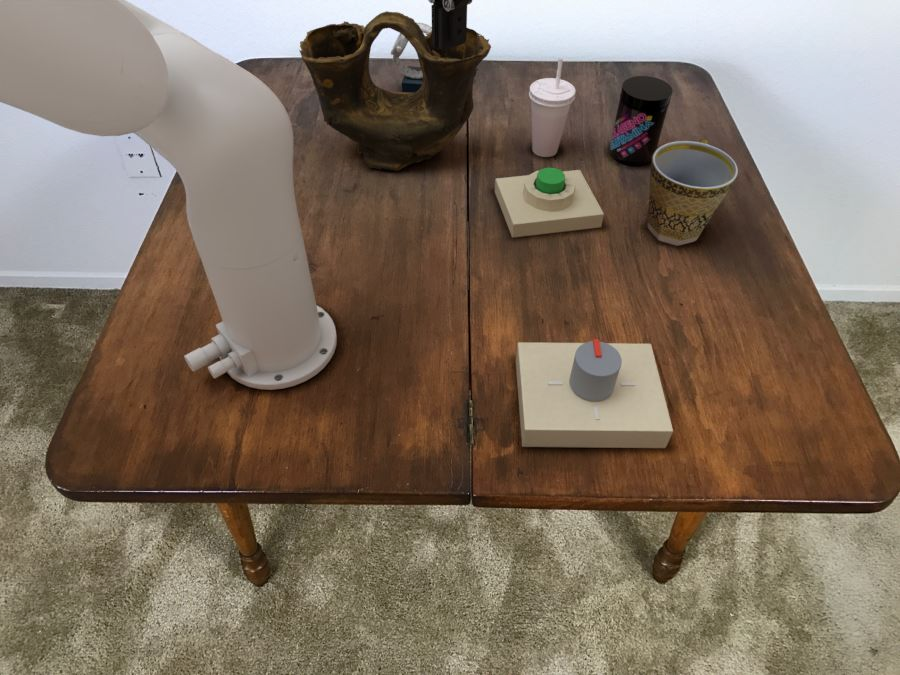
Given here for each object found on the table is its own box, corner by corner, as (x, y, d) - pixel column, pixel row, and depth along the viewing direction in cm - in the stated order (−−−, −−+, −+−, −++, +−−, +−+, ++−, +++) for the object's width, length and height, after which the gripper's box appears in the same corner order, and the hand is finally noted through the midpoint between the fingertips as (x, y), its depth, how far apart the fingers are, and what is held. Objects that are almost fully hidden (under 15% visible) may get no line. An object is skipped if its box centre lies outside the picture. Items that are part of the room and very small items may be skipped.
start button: (539, 196, 87) (541, 185, 85) (532, 180, 89) (533, 168, 88) (566, 193, 87) (568, 182, 86) (558, 177, 90) (560, 166, 88)
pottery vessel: (486, 137, 102) (493, 1, 88) (483, 179, 95) (491, 39, 80) (322, 129, 103) (302, -6, 89) (307, 171, 96) (283, 30, 81)
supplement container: (601, 144, 101) (614, 78, 94) (643, 139, 102) (660, 73, 95) (618, 170, 97) (633, 103, 89) (662, 164, 98) (681, 97, 90)
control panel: (522, 447, 66) (524, 428, 63) (515, 360, 73) (517, 340, 71) (665, 448, 66) (674, 430, 64) (644, 361, 73) (651, 342, 71)
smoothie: (564, 165, 98) (578, 71, 87) (520, 159, 99) (529, 66, 88) (568, 141, 102) (582, 49, 91) (525, 136, 103) (535, 44, 92)
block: (512, 238, 87) (514, 212, 84) (494, 191, 93) (496, 166, 90) (601, 227, 88) (606, 202, 85) (577, 182, 95) (582, 158, 92)
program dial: (616, 402, 66) (625, 374, 63) (571, 401, 66) (578, 373, 63) (610, 367, 69) (618, 338, 65) (567, 366, 69) (573, 338, 66)
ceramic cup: (704, 263, 84) (730, 197, 76) (625, 241, 87) (643, 174, 79) (723, 205, 92) (747, 140, 84) (650, 186, 94) (668, 121, 87)
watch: (396, 83, 113) (392, 16, 105) (444, 86, 113) (444, 19, 104) (390, 100, 109) (386, 32, 101) (439, 103, 109) (439, 35, 101)
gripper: (358, -192, 56) (374, 29, 70) (478, -155, 49) (470, 84, 63) (427, -204, 60) (430, 10, 73) (550, -171, 52) (528, 60, 66)
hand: (449, 44), depth 68 cm, fingers closed
